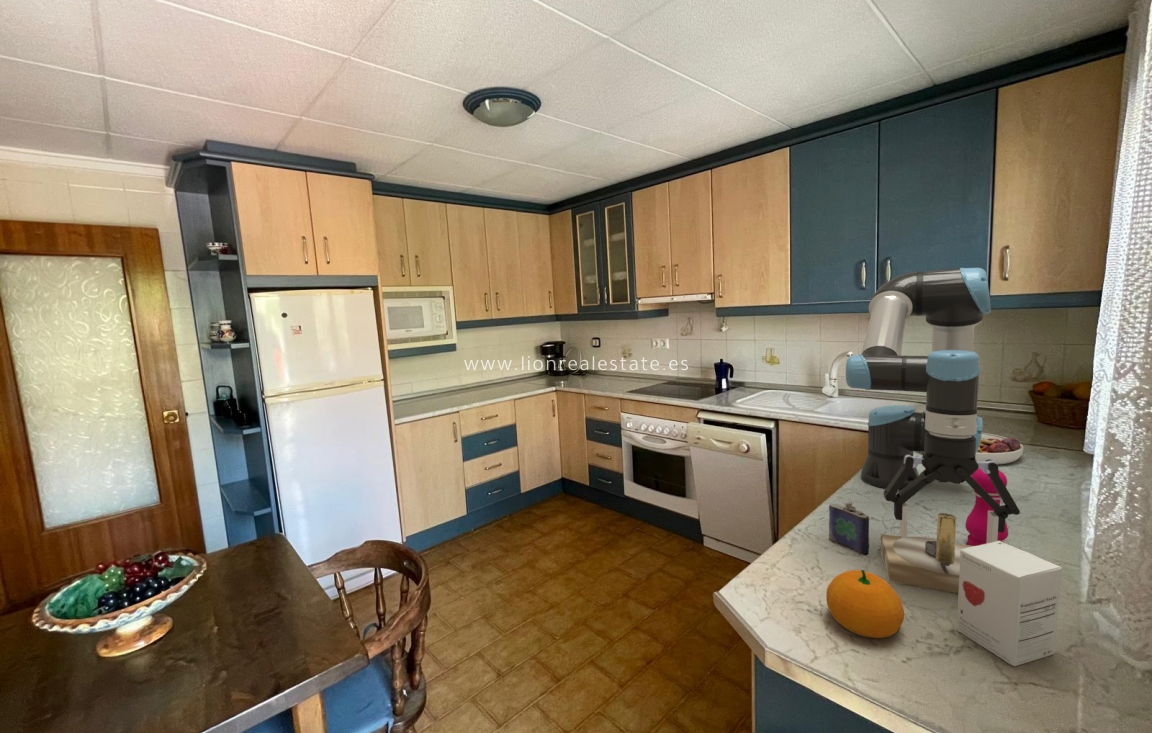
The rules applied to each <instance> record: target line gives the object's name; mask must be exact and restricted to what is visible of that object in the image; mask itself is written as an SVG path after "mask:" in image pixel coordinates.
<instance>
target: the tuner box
mask: <svg viewBox="0 0 1152 733" xmlns="http://www.w3.org/2000/svg"><path fill="white" fill-rule="evenodd" d="M927 541H937V538H934V537H925V536H907V539H905V538H902V536H901V535H893V534H886V533H880V545H879V546H880V553H881V558H882V562H883V564H884V565H883V566H884V568H885V571H886V574H887V578H888V582H889V583H891V582H892V583H897V584H902V585H909V586H915V587H920V588H927V589H932V590H937V591H942V592H949V593H955V594H958V593H959V573H960V550H961V549H964V548H968V547H973V546H969V545H968V544H961V543H955V562H954V564H951V565H950V566H945V565H940V563H939V561H937V560H936V558H935V557H932V556H930V555H928V554H927V553H926V552H925V543H926V542H927Z"/></svg>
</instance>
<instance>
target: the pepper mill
mask: <svg viewBox="0 0 1152 733" xmlns="http://www.w3.org/2000/svg"><path fill="white" fill-rule="evenodd" d="M999 476H1000V478H1001V480H1002V481H1003V483H1004V485H1005V487H1006V488H1007V485H1008V478H1007V476H1006V474H1005V473H1004V472H1002V471H1001V470H999ZM971 477H972V478H973V479H974V480H975V481H976V482H977V483H978V484H979V485H980V486H981V487H982V488H983V489H984V490H985V491H986V492H987V493H988V494H989V495H990V496H991V497H992V498H993V499H994V500H995V501H996V502H997V503H998V504H999V505H1000V506H1001V501H1002V499H1001V497H1000V495H999V494H998V492H997V490H996V489H995V487H994V485H993V483H992V482H991V480H990V478H989V477H988V475H987V474H985V473H984V472H983V471H982V470H981V469H980V468H978V470H977V471H975V472H974V473H973V474H972V475H971ZM972 493H973V495H975V502H974V506H973V507H972V510H971V511H970V513H969V514H968V515H967V517H966V520H965V526H964V527H965V529H966V531H967V533H969V534H968V535H967V545H969V546H979V545H983V544H987V522H988V511H994V510H993V509H992V508H991V507H990V506H989V505H988V504H987V503H986V502H985V500H984V499H983V498H982V497H981V496H980V495H979V494H978V493H977V492H976V491H975V490H974V489H973V491H972ZM1008 537H1009V527H1008V525H1007V523H1006V521H1005V531H1004V532H1003V533H1002V532H998V538H997V541H1001V542H1003V543H1005V542H1004V541H1005V540H1006V539H1007V538H1008Z"/></svg>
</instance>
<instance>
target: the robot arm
mask: <svg viewBox="0 0 1152 733" xmlns="http://www.w3.org/2000/svg"><path fill="white" fill-rule="evenodd" d="M991 308H992V307H991V299H990V289H989V282H988V276H987V271H986V270H985V269H983V268H982V267H965V268H964V267H957V268H946V269H938V270H927V271H912V272H907V273H902V274H900V275H897V276H896V277H893V278H891V279H890V280H888V281H887V282H885V283H884V284H882V285H881V286H880V287H879V288H878V289H877V290H876V291H875V292H874V294H873V295H872V296H871V298H870V301H869V304H868V313H869V315H870V318H869V322H868V325H867V330H866V333H865V337H864V341H863V343H862V344H863V345H862V348H861V353H860V354H853V355H850V356H848V357H847V359H846V363H845V381H846V384H847V386H848V387H849V388H851V389H858V390H860V389H861V390H866V391H870V390H871V391H873V390H874V391H894V392H895V391H899V392H914V393H915V392H916V393H926V395H925V396H926V398H925V399H926V402H925V403H926V405H925V406H924V408H923V412H917V411H916V409H915V407H914V406H911V405H903V404H902V405H900V404H899V405H883V406H879V407H875V408H873V409H871V410H870V412H869V414H868V422H867V426H868V427H867V428H868V434H867V435H868V436H867V437H868V439H867V456H866V457H865V459H864V460H865V461H864V463H863V465H862V467H861V470H860V478H861V480H862V481H863V482H864V483H867V484H869V485H871V486H874V487H878V488H882V489H885V490H884V491H883V493H882V495H883V496H884V499H885V501H887V502H892V503H893V515H894V518H895V520H896V521H899V534H900V536H902V538H905V539H907V537H908V512H909V511H908V510H909V509H908V505H907V503H906V502H908V501H909V500H910V499H911V498H913V497H914V496H915V495H916V494H918V493H919V492H920V491H921V490H922V489H924V488H925V487H927V485H929V484H931V483H933V482H934V481H937V482H938V483H942V484H943V483H946V484H947V483H952V484H956V485H957V484H958V485H960V484H962V483H965V482H966V483H967V485H968V486H970V487H971V489H973V491H974V490H975V491H976V492H977V493H978V494H979V495H980V496H981V497H982V498H983V499H984V500H985V502H986V503H987V504H988V505H989V506H990V507H991V508H992V509H993V510H994V511H988V522H987V544H988V543H992V542H996V541H997V538H998V532H1002V533H1003V532H1004V531H1005V522H1006V519H1008V517H1009V516H1010V515H1014V516H1015V515H1019V514H1020V512H1021V511H1020V509H1019V507H1018V505H1017V503H1016V502H1015V500H1014V499H1013V497H1012V495H1011V493H1010V492H1009V490H1008V488H1007V486H1006V487H1005V485H1004V483H1003V481H1002V480H1001V478H1000V476H999V471H1000V470H999V465H997V464H996V463H995V462H993V461H992V460H990V459H988V460H986V461H983V462H976V459H975V455H976V453H977V451H978V448H979V445H980V441H981V436H982V434H981V433H983V428H984V427H983V426H984V422H983V421H984V419H983V418H982V416H979V415H978V401H979V400H978V399H979V386H980V385H979V384H980V374H981V366H980V355H979V354H978V353H977V352H975V351H974V338H975V327H976V326H977V325H979V324H981V323H982V321H983V319H984V315H987V314H991V312H992V309H991ZM914 316H915V317H916V316H917V317H925V324H927V325H929V326H930V327H932V333H931V336H932V337H931V341H932V342H931V352H930V353H929V354H928V355H901V354H902V347H903V342H904V341H903V340H904V335H905V329H906V328H905V327H906V322H907V321H906V320H907V319H908V318H909V317H914ZM914 452H919V453H923V452H924V453H923V455H922V456H921V457H918V456H914ZM918 465H922V466H923V467H924V470H922V471H921V472H920V473H919V471H918V469H917V467H918ZM978 468H980V469H981V470H982V471H983V472H984V473H985V474H987V475H988V477H989V478H990V480H991V482H992V483H993V485H994V487H995V489H996V490H997V492H998V494H999V495H1000V497H1001V501H1002V502H1003V505H1001V504H1000V505H999V504H998V503H997V502H996V501H995V500H994V499H993V498H992V497H991V496H990V495H989V494H988V493H987V492H986V491H985V490H984V489H983V488H982V487H981V486H980V485H979V484H978V483H977V482H976V481H975V480H974V479H973V478H972V477H971V475H972V474H973V473H974V472H975V471H977V470H978ZM898 491H899V492H898Z"/></svg>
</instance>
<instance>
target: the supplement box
mask: <svg viewBox="0 0 1152 733" xmlns="http://www.w3.org/2000/svg"><path fill="white" fill-rule="evenodd" d="M1003 542H1004V541H1003ZM1003 542H1001V541H996V542H992V543H988V544H983V545H979V546H973V547H968V548H964V549H961V550H960V573H959V593H957V594H958V595H957V597H958V598H957V614H956V615H957V616H956V631H958V632H960V633H961V634H962V635H964V636H966V637H967V638H969V639H970V640H971V641H973V642H974V643H976V644H978V645H980V646H981V647H983V648H984V649H985V650H987V651H989V652H990V653H992V654H993V655H995V656H996V657H998V658H1000V659H1001V660H1003V661H1004V662H1006V663H1007V664H1009V665H1010V666H1012V667H1017V666H1021V665H1023V664H1027V663H1031V662H1033V661H1037V660H1039V659H1042V658H1045V657H1049V656H1051V655H1052V656H1053V655H1055V653H1056V652H1055V651H1056V638H1057V628H1058V626H1057V625H1058V614H1059V604H1060V602H1059V600H1060V591H1061V578H1062V571H1063V567H1061V566H1060V565H1057V564H1054V563H1052V562H1050V561H1048V560H1046V559H1043V558H1041V557H1038V556H1036V555H1035V554H1032V553H1031V552H1028V551H1025V550H1023V549H1019V548H1017V547H1015V546H1013V545H1010V544H1008V543H1005V542H1004V543H1003Z"/></svg>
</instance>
